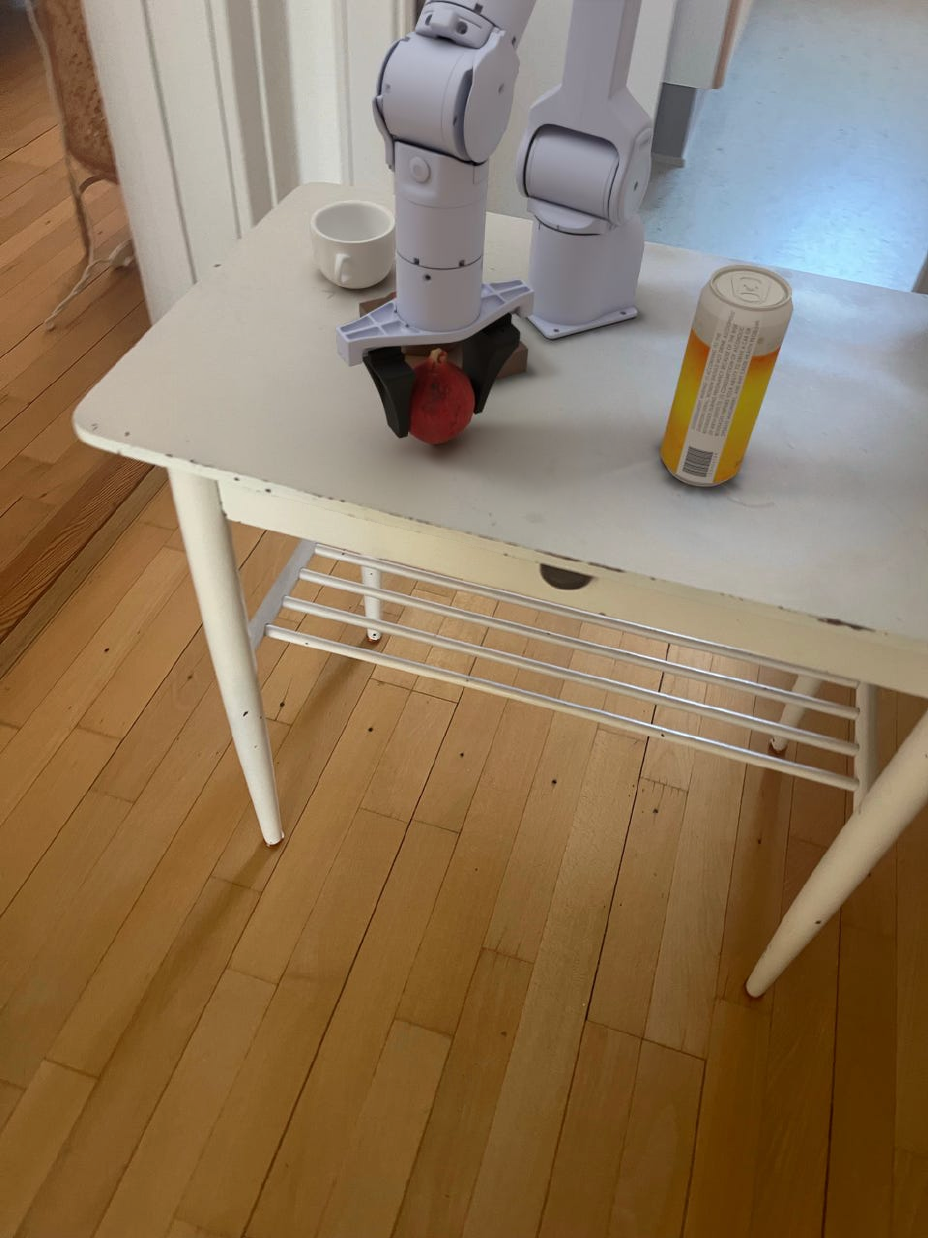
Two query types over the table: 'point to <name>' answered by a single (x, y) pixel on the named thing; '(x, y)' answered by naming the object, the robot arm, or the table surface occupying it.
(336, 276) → the teacup
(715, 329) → the beer can
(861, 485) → the table surface
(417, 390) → the red fruit
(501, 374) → the button box
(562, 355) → the table surface
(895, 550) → the table surface
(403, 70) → the robot arm
